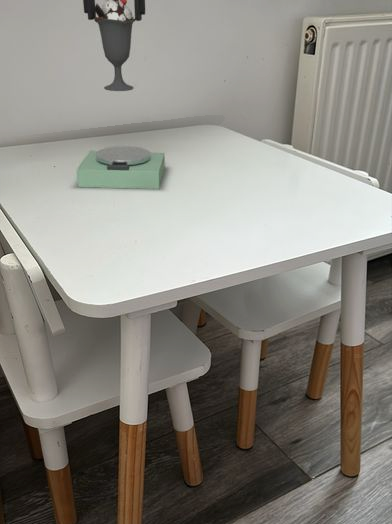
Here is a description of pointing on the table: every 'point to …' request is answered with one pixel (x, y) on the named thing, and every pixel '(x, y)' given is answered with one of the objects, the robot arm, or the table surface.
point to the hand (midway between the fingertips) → (115, 18)
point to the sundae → (115, 37)
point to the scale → (121, 173)
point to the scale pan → (122, 155)
